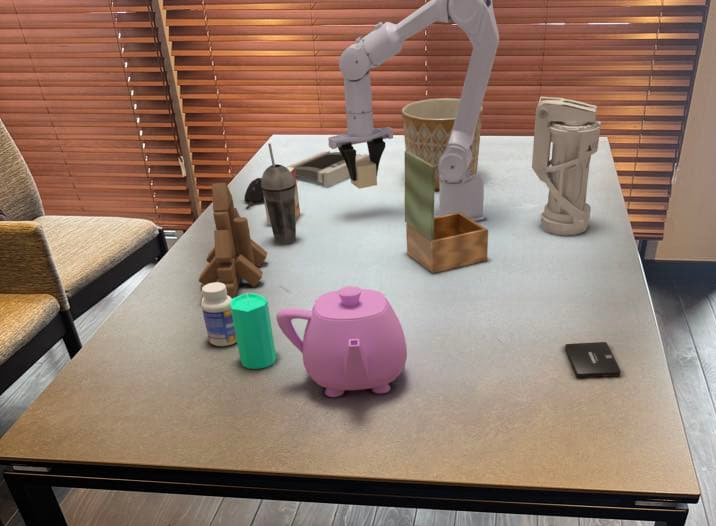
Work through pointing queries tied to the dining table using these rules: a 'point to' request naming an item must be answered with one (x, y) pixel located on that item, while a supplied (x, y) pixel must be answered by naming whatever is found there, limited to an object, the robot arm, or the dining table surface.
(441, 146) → the planter
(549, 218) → the lantern
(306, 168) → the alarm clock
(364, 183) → the cube
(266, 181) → the beverage cup
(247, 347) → the candle
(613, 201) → the dining table surface
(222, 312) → the pill bottle
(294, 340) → the teapot
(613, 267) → the dining table surface
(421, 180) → the lid
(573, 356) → the solid state drive
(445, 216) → the open wooden box
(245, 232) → the wooden blocks
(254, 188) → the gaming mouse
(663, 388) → the dining table surface
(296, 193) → the small box
